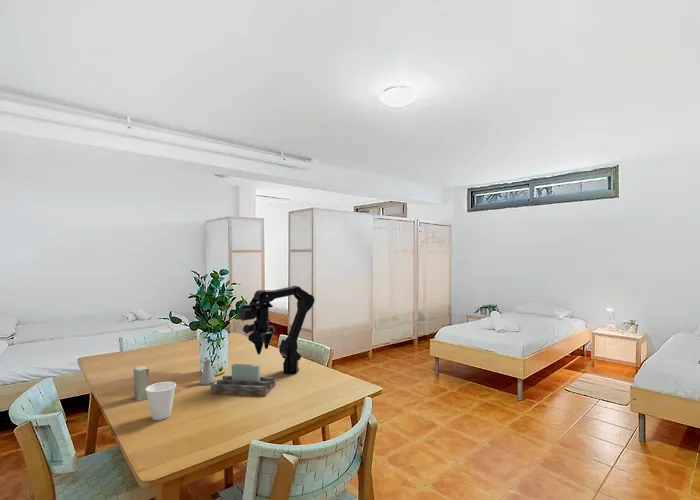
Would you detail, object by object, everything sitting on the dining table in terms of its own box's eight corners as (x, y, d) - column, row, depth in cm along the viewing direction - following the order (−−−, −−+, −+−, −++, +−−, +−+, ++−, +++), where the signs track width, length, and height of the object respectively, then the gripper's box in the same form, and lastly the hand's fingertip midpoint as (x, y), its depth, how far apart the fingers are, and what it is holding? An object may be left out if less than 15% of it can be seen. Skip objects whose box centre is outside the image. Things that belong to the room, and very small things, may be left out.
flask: (210, 385, 161) (209, 363, 161) (195, 384, 163) (195, 362, 163) (219, 380, 168) (218, 358, 168) (204, 379, 170) (204, 357, 170)
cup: (157, 410, 137) (156, 381, 137) (182, 411, 136) (181, 381, 136) (139, 422, 127) (138, 391, 127) (166, 423, 126) (165, 392, 126)
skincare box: (150, 398, 148) (150, 368, 148) (138, 401, 145) (138, 370, 145) (145, 393, 153) (145, 364, 153) (133, 397, 150) (133, 367, 150)
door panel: (260, 383, 160) (260, 364, 160) (258, 385, 158) (257, 366, 158) (234, 381, 162) (234, 363, 162) (231, 384, 159) (231, 365, 159)
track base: (275, 385, 162) (275, 377, 162) (265, 395, 150) (265, 387, 150) (224, 383, 165) (224, 375, 165) (210, 393, 153) (210, 385, 153)
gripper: (253, 313, 179) (253, 345, 179) (236, 321, 160) (237, 356, 160) (275, 314, 177) (275, 346, 177) (261, 321, 159) (261, 357, 159)
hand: (262, 351), depth 168 cm, fingers open, 9 cm apart
